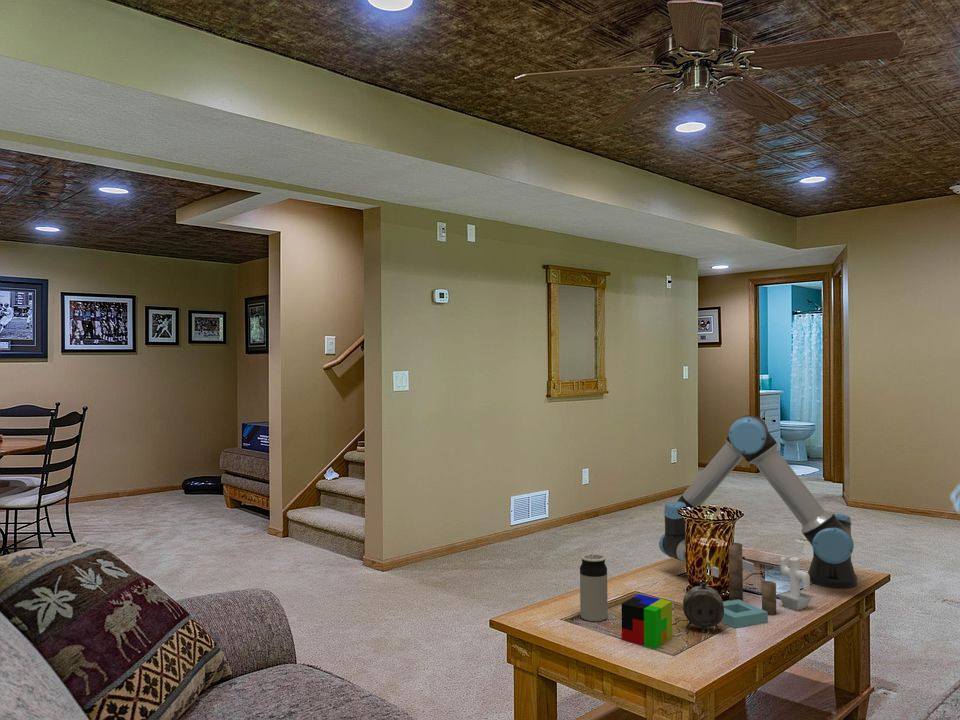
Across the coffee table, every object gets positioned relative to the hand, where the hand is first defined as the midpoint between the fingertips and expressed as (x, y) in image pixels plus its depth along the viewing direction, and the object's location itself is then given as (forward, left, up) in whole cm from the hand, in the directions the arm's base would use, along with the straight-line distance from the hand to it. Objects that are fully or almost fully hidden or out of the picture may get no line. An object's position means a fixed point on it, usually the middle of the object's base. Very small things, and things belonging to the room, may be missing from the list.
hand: (735, 570), depth 228 cm
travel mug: (+48, -5, -10) cm, 49 cm away
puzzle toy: (+43, +15, -10) cm, 46 cm away
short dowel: (-2, +12, -10) cm, 15 cm away
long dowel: (0, 0, -10) cm, 10 cm away
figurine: (-13, +11, -10) cm, 20 cm away
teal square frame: (+10, +12, -10) cm, 18 cm away
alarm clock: (+25, +16, -10) cm, 31 cm away
